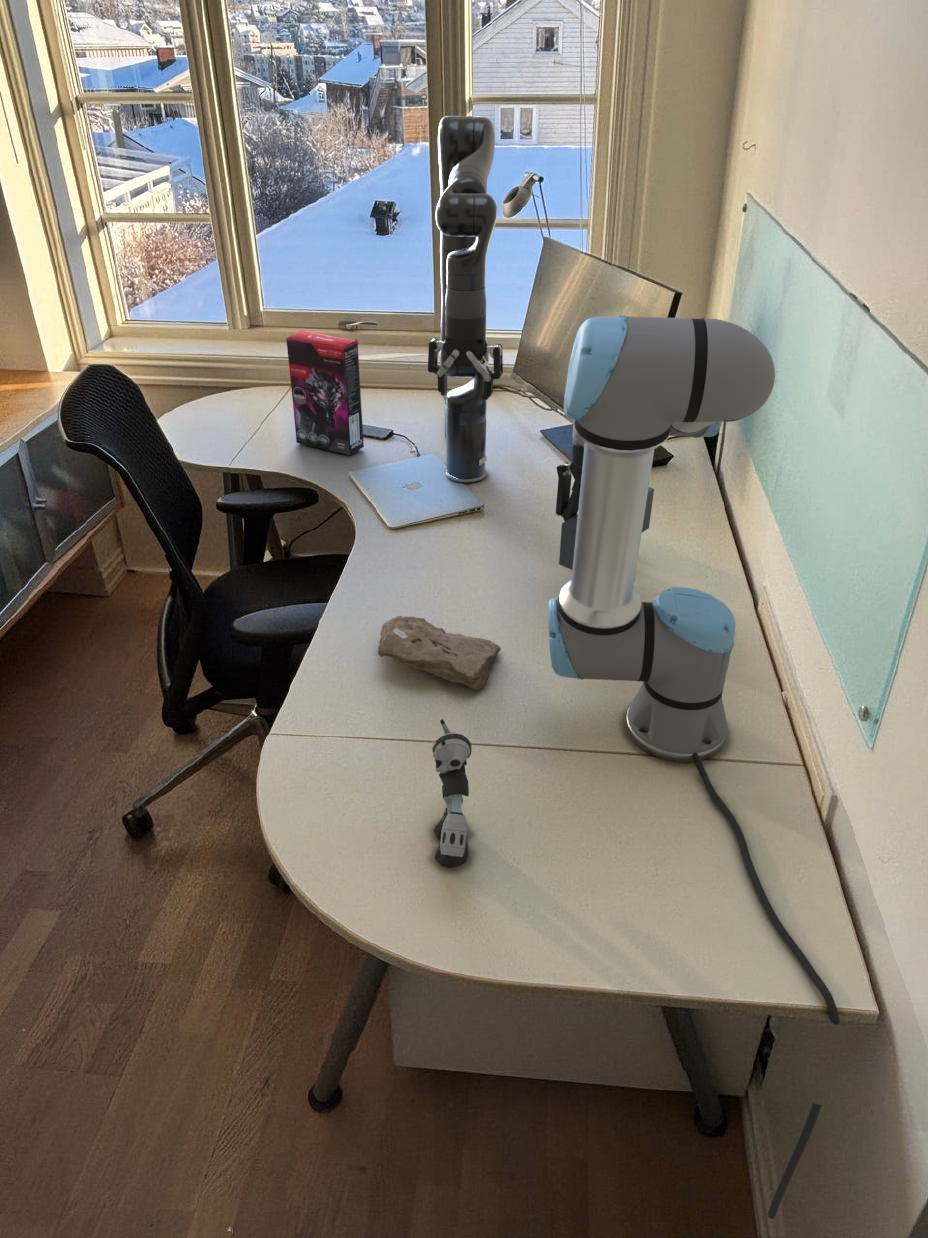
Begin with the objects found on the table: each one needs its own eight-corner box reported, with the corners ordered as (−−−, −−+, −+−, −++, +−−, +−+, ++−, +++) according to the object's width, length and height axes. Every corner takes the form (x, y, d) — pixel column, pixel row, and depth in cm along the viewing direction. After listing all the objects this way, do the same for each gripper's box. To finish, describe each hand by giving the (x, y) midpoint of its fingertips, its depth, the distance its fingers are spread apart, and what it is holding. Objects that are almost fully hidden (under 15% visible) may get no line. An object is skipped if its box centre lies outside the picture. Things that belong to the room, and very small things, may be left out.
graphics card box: (294, 443, 234) (283, 336, 218) (310, 434, 239) (300, 328, 224) (350, 457, 227) (343, 347, 212) (366, 447, 232) (360, 339, 217)
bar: (580, 573, 169) (584, 532, 164) (558, 564, 172) (561, 523, 167) (649, 528, 183) (654, 488, 178) (628, 520, 186) (632, 480, 181)
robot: (474, 902, 115) (476, 785, 104) (435, 903, 115) (433, 787, 104) (466, 791, 132) (467, 679, 120) (432, 792, 131) (430, 680, 120)
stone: (354, 663, 151) (360, 631, 149) (385, 632, 165) (392, 602, 162) (474, 706, 148) (483, 673, 145) (496, 671, 161) (504, 640, 159)
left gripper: (508, 308, 171) (505, 393, 180) (434, 302, 174) (435, 386, 183) (498, 320, 165) (496, 406, 174) (422, 313, 168) (424, 399, 177)
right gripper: (650, 449, 157) (634, 566, 170) (565, 421, 167) (556, 533, 180) (625, 462, 152) (611, 582, 165) (539, 433, 162) (533, 548, 175)
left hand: (465, 396), depth 178 cm, fingers open, 8 cm apart
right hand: (583, 556), depth 173 cm, fingers closed on bar, 5 cm apart
